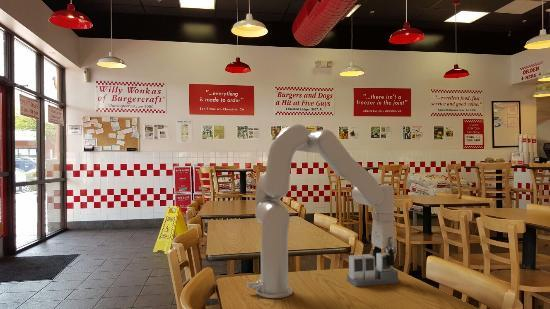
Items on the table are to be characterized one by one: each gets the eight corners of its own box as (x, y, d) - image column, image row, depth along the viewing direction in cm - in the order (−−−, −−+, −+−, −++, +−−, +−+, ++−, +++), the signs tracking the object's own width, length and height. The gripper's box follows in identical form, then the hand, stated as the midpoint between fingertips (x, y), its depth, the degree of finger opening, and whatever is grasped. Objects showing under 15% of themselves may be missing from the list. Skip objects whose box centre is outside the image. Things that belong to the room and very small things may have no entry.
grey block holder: (356, 286, 147) (355, 259, 147) (346, 280, 155) (346, 254, 155) (398, 283, 151) (398, 256, 151) (387, 277, 159) (387, 251, 159)
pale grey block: (382, 277, 151) (382, 255, 151) (376, 274, 156) (376, 253, 156) (391, 276, 152) (391, 255, 152) (385, 273, 157) (385, 252, 157)
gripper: (364, 214, 162) (364, 257, 161) (386, 221, 145) (385, 269, 145) (381, 214, 163) (381, 256, 163) (404, 220, 147) (404, 267, 146)
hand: (383, 262), depth 154 cm, fingers open, 9 cm apart
